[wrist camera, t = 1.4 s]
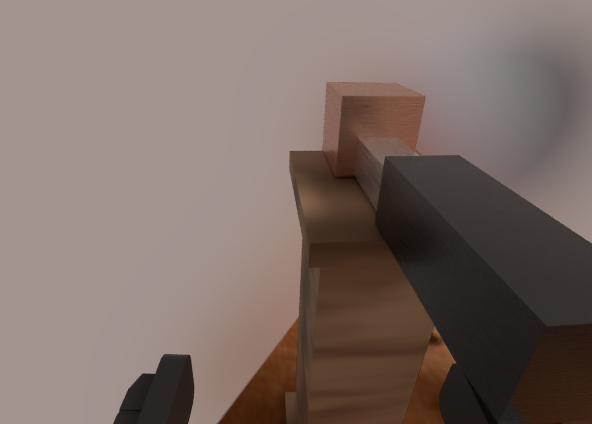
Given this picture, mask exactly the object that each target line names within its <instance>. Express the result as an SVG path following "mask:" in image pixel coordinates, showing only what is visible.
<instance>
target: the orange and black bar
mask: <svg viewBox="0 0 592 424" xmlns="http://www.w3.org/2000/svg"><path fill="white" fill-rule="evenodd" d="M424 103H425V96H423V95H421V94H419V93H417V92H415V91H412V90H410V89H408V88H406V87H404V86H401V85H399V84H397V83H351V82H349V83H348V82H347V83H345V82H327V86H326V101H325V117H324V133H323V148H322V151H323V153H324V155H325V157H326V159H327V161H328V163H329V165H330V167H331V169H332V171H333V173H334V175H335V177H341V176H355V178H356V179H357V181H358V183H359V184H360V186H361V187H362V189H363V190H364V192H365V194H366V195H367V197H368V198H369V200H370V201H371V203H372V205H373V206H374V208H375V209H376V211H377V212H376V218H375V225H376V227H377V228H378V230H379V232H380V234H381V235H382V237H383V239H384V240H385V242H386V244H387V246H388V247H389V249H390V251H391V252H392V254H393V256H394V257H395V259H396V261H397V263H398V264H399V266H400V268H401V269H402V271H403V273H404V274H405V276H406V278H407V280H408V281H409V283H410V285H411V286H412V288H413V290H414V291H415V293H416V295H417V297H418V298H419V300H420V302H421V303H422V305H423V307H424V308H425V310H426V312H427V314H428V315H429V317H430V319H431V320H432V322H433V324H434V325H435V327H436V329H437V331H438V332H439V334H440V336H441V337H442V339H443V341H444V342H445V344H446V346H447V348H448V349H449V351H450V353H451V354H452V356H453V358H454V359H455V361H456V363H457V365H458V366H459V368H460V370H461V371H463V373H464V374H465V376H466V378H467V380H468V381H469V383H470V385H471V386H472V388H473V390H474V391H475V393H476V395H477V397H478V398H479V400H480V402H481V403H482V405H483V407H484V409H485V410H486V412H487V414H488V415H489V417H490V419H491V421H492V422H493V424H549V423H559V422H570V421H580V420H590V419H592V243H590V242H589V241H587V240H585V239H584V238H582V237H581V236H579V235H578V234H576V233H575V232H573V231H572V230H570V229H569V228H567V227H566V226H564V225H563V224H561V223H560V222H558V221H557V220H555V219H554V218H552V217H551V216H549V215H548V214H546V213H545V212H543V211H542V210H540V209H539V208H537V207H536V206H534V205H533V204H531V203H530V202H528V201H527V200H525V199H524V198H522V197H521V196H519V195H518V194H516V193H515V192H513V191H512V190H510V189H509V188H507V187H506V186H504V185H503V184H501V183H500V182H498V181H497V180H495V179H494V178H492V177H491V176H489V175H488V174H486V173H485V172H483V171H482V170H480V169H479V168H477V167H476V166H474V165H473V164H471V163H470V162H468V161H467V160H465V159H464V158H462V157H461V156H459V155H457V156H456V155H453V156H452V155H449V156H448V155H447V156H419V155H418V154H417V153H416V152H415V149H416V144H417V139H418V133H419V128H420V122H421V118H422V113H423V107H424Z"/></svg>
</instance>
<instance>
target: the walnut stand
mask: <svg viewBox="0 0 592 424" xmlns="http://www.w3.org/2000/svg"><path fill="white" fill-rule="evenodd" d="M415 152H416V153H417V154H418V155H419V156H422V155H421V154H420V153H419V152H418V151H417V150H415ZM290 174H291V180H292V184H293V189H294V195H295V201H296V206H297V210H298V216H299V221H300V227H301V232H302V237H303V239H302V262H301V282H300V283H301V284H300V305H299V326H298V348H297V370H296V391H295V392H285V409H286V424H402V423H403V420H404V417H405V414H406V411H407V408H408V405H409V402H410V399H411V396H412V393H413V390H414V386H415V383H416V380H417V377H418V374H419V371H420V368H421V365H422V362H423V359H424V356H425V353H426V350H427V347H428V343H429V340H430V337H431V334H432V331H433V328H434V324H433V322H432V320H431V319H430V317H429V315H428V314H427V312H426V310H425V308H424V307H423V305H422V303H421V302H420V300H419V298H418V297H417V295H416V293H415V291H414V290H413V288H412V286H411V285H410V283H409V281H408V280H407V278H406V276H405V274H404V273H403V271H402V269H401V268H400V266H399V264H398V263H397V261H396V259H395V257H394V256H393V254H392V252H391V251H390V249H389V247H388V246H387V244H386V242H385V240H384V239H383V237H382V235H381V234H380V232H379V230H378V228H377V227H376V225H375V218H376V212H377V211H376V209H375V208H374V206H373V205H372V203H371V201H370V200H369V198H368V197H367V195H366V194H365V192H364V190H363V189H362V187H361V186H360V184H359V183H358V181H357V179H356V178H355V176H341V177H335V175H334V173H333V171H332V169H331V167H330V165H329V163H328V161H327V159H326V157H325V155H324V153H323V151H290Z"/></svg>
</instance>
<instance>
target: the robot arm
mask: <svg viewBox="0 0 592 424" xmlns="http://www.w3.org/2000/svg"><path fill="white" fill-rule="evenodd" d="M193 399H194V381H193V372H192V364H191V357H190V355H178V354H176V355H175V354H165V355H163V357H162V358H161V361H160V363H159V366H158V368H157V371H156V374H142V375H141V376H140V377H139V378H138V379H137V380H136V382H135V383H134V384H133V385H132V386H131V387H130V388H129V389H128V391H127V393H126V396H125V398H124V400H123V403H122V405H121V407H120V411H119V413H118V414H117V416H116V419H115V421H114V423H113V424H188V422H189V418H190V414H191V410H192V405H193ZM439 405H440V411H441V414H442V417H443V420H444V423H445V424H493V422H492V421H491V419H490V417H489V415H488V414H487V412H486V410H485V409H484V407H483V405H482V403H481V402H480V400H479V398H478V397H477V395H476V393H475V391H474V390H473V388H472V386H471V385H470V383H469V381H468V380H467V378H466V376H465V374H464V373H463V371H461V370H460V368H459V366H458V365H457V364H453V365H452V366H451V368H450V370H449V373H448V375H447V377H446V380H445V382H444V385H443V387H442V389H441V392H440V396H439ZM561 424H592V419H590V420H580V421H570V422H561Z"/></svg>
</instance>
